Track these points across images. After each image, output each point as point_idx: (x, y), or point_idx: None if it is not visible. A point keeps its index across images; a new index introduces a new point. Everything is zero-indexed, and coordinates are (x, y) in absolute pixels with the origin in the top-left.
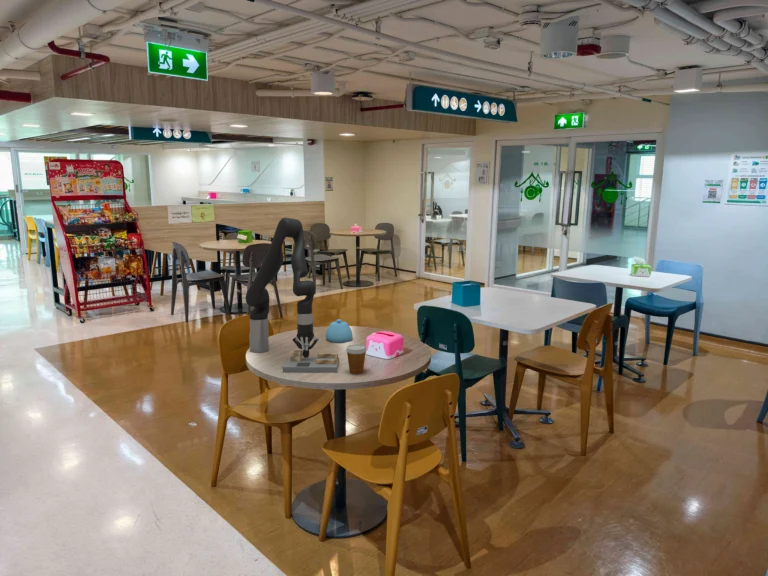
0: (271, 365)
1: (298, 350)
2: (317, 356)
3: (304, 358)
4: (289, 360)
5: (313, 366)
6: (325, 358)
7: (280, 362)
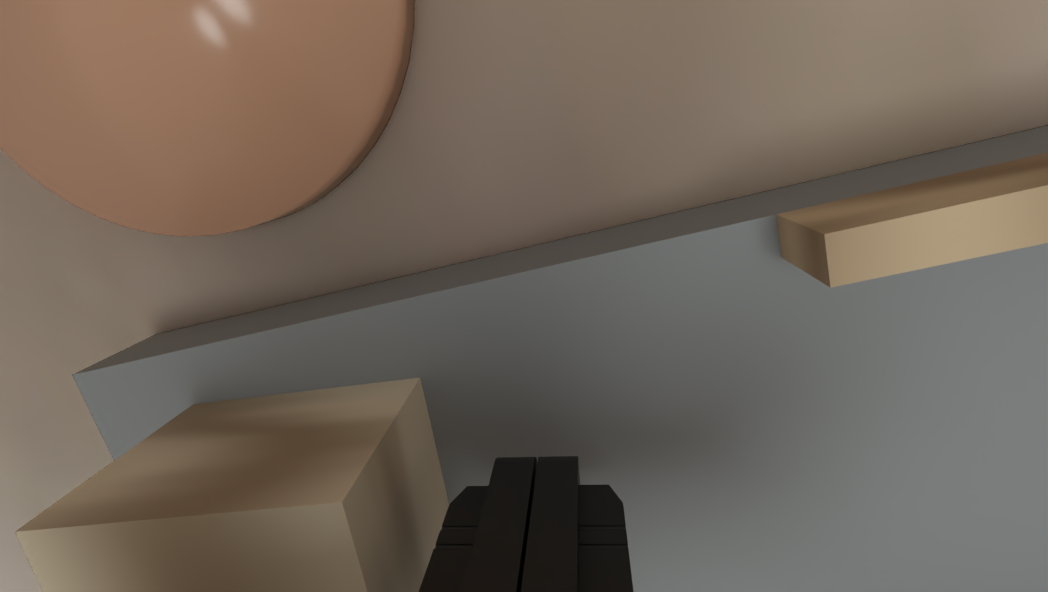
0: (12, 536)
1: (216, 527)
2: (799, 268)
3: (465, 372)
4: None
5: None
6: (1028, 249)
7: (40, 370)
